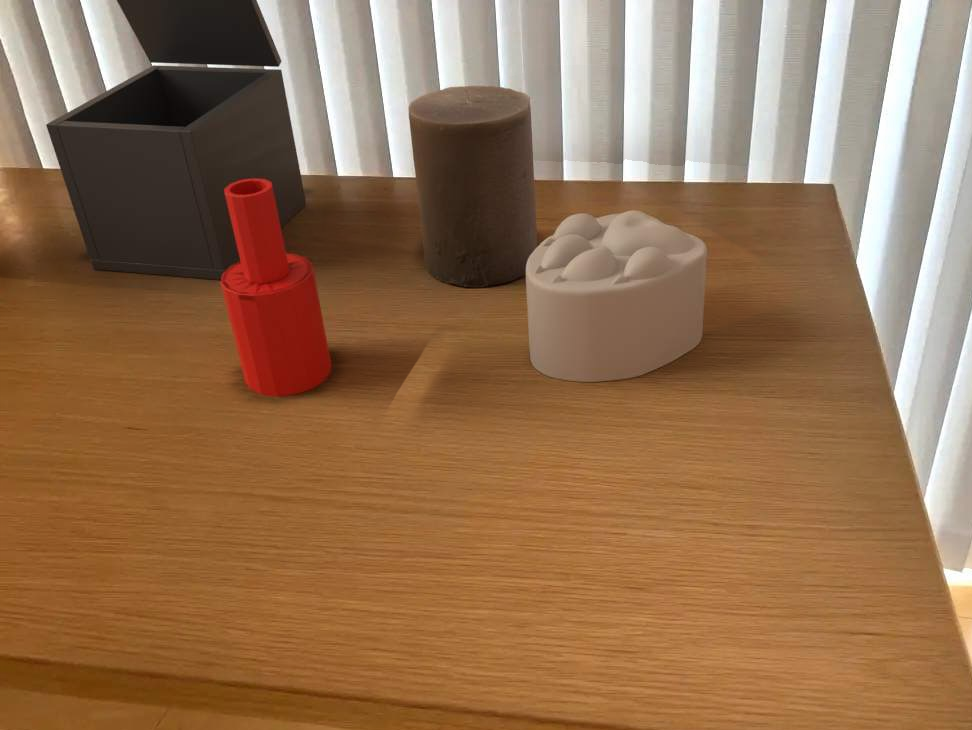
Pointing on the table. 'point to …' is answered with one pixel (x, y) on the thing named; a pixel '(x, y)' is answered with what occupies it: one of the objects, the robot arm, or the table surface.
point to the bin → (175, 165)
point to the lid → (202, 32)
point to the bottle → (272, 299)
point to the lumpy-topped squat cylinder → (614, 297)
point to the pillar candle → (475, 183)
